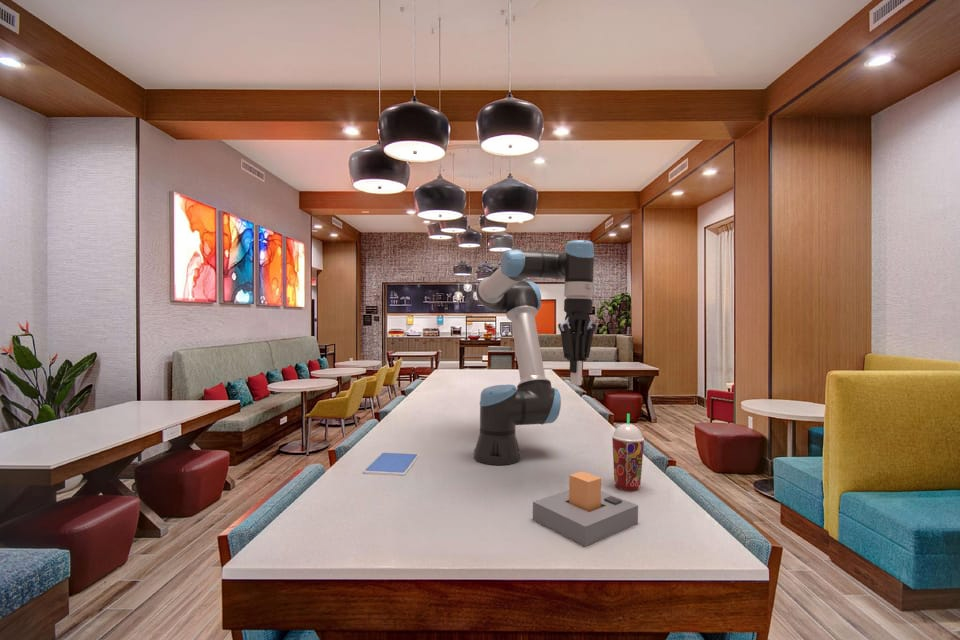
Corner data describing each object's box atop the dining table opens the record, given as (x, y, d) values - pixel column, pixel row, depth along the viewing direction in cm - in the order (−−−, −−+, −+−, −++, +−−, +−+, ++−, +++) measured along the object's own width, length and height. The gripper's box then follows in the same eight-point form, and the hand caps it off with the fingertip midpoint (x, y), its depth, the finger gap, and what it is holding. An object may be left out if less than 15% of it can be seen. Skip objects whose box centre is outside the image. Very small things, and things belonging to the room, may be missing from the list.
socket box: (532, 519, 101) (533, 499, 101) (584, 500, 112) (585, 482, 112) (585, 546, 89) (585, 524, 89) (637, 523, 100) (638, 503, 100)
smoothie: (645, 494, 117) (647, 417, 117) (612, 491, 119) (613, 416, 119) (640, 483, 125) (642, 411, 125) (610, 480, 127) (611, 410, 127)
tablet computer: (382, 455, 149) (382, 451, 149) (419, 457, 148) (419, 453, 148) (362, 475, 129) (362, 471, 129) (405, 477, 128) (405, 473, 128)
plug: (568, 519, 102) (569, 475, 102) (581, 514, 104) (582, 471, 104) (587, 528, 97) (588, 482, 97) (600, 522, 100) (601, 478, 100)
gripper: (572, 297, 115) (569, 388, 116) (605, 298, 123) (602, 384, 123) (551, 297, 121) (548, 384, 122) (583, 298, 129) (581, 380, 129)
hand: (575, 384), depth 122 cm, fingers closed
